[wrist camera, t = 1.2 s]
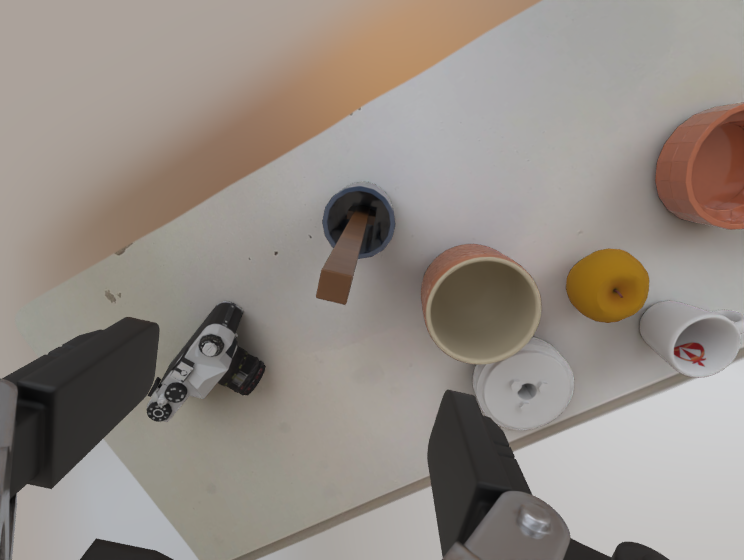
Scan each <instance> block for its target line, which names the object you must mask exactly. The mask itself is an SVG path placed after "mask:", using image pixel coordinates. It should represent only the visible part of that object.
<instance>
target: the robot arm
mask: <svg viewBox="0 0 744 560" xmlns="http://www.w3.org/2000/svg"><path fill="white" fill-rule="evenodd" d="M158 341H159V326H158V324H157V323H154V322H149V321H145V320H140V319H136V318H132V317H125V318H123V319H122V320H120V321H118V322H117V323H115V324H113V325H112V326H110V327H108V328H107V329H105V330H97V331H94V332H90V333H86V334H83V335H79V336H77V337H75V338H74V339H72V340H70V341H68V342H67V343H65V344H63V345H62V347H58V348H56V349H54V350H52V351H51V352H49V354H48V355H43V356H42V357H40V358H38V359H36V360H34V361H33V362H31V363H29V364H28V365H26V366H24V367H22V368H20V369H18V370H17V371H15V372H13V373H11V374H10V375H8V376H6V377H4V378H2V379H0V560H12V554H13V542H14V531H15V519H16V507H17V492H19V491H20V490H21V489H22V488H23V487H24V486H25V485H26V484H30V485H36V486H40V487H45V488H50V489H52V488H53V487H54V486H55V485H56V484H57V483H58V482H59V481H60V480H61V479H62V478H63V477H64V476H65V475H66V474H67V473H68V472H69V471H70V470H71V469H72V468H73V467H74V466H75V465H76V464H77V463H79V461H81V460H82V459H83V458H84V457H85V456H86V455H87V454H88V453H89V452H90V451H91V450H92V449H93V448H94V447H95V446H96V445H97V444H98V443H99V442H100V441H101V440H102V439H103V438H104V437H105V436H106V435H107V434H108V433H109V432H110V431H111V430H112V429H113V428H114V427H115V426H116V425H117V424H118V423H119V422H120V421H121V420H122V419H123V418H125V417H126V416H127V415H128V414H129V413H130V412H131V411H132V410H133V409H134V408H135V407H136V406H137V405H138V404H139V403H140V402H141V401H142V400H143V399H144V398H145V397H146V395H147V394H148V392H149V390H150V388H151V386H152V384H153V381H154V377H155V369H156V359H157V350H158ZM427 459H428V467H429V473H430V479H431V486H432V492H433V498H434V504H435V511H436V518H437V524H438V530H439V536H440V543H441V549H442V556H443V559H442V560H669V559H668V558H666V557H665V556H663V555H662V554H660V553H658V552H657V551H655V550H653V549H651V548H649V547H647V546H644V545H642V544H639V543H634V542H622V543H621V544H619V545H618V546H617V548H616V550H615V552H614V554H613V556H612V558H611V557H609V556H607V555H605V554H603V553H600V552H598V551H596V550H594V549H592V548H590V547H588V546H585V545H583V544H581V543H579V542H577V541H575V540H573V539H571V538H570V532H569V529H568V527H567V525H566V523H565V522H564V520H563V519H562V517H561V516H560V515H559V514H558V513H557V512H556V511H555V510H554V509H553V508H552V507H551V506H550V505H548V504H547V503H545V502H544V501H542V500H541V499H539V498H537V497H535V496H533V495H532V493H531V491H530V489H529V487H528V484H527V482H526V480H525V478H524V476H523V473H522V471H521V469H520V467H519V465H518V463H517V460H516V459H514V454H513V452H512V450H511V447H509V443H508V441H507V439H506V436H505V434H504V432H503V430H502V429H501V428H500V427H499V426H498V425H497V424H496V423H495V422H494V421H493V420H492V419H491V418H490V417H486V416H483V415H482V413H481V410H480V408H479V405H478V403H477V401H476V398H475V396H473V395H469V394H465V393H461V392H456V391H452V390H446V392H445V393H444V395H443V398H442V401H441V404H440V407H439V411H438V414H437V417H436V420H435V423H434V426H433V429H432V432H431V436H430V439H429V444H428V453H427ZM80 560H173V559H171V558H169V557H167V556H166V555H164V554H162V553H160V552H158V551H155V550H150V549H145V548H140V547H135V546H130V545H125V544H120V543H115V542H110V541H106V540H100V539H95V541H94V542H93V543H92V545H91V546H90V547H89V549H88V550H87V551H86V552H85V554H84V555H83V556H82V558H81V559H80Z"/></svg>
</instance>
